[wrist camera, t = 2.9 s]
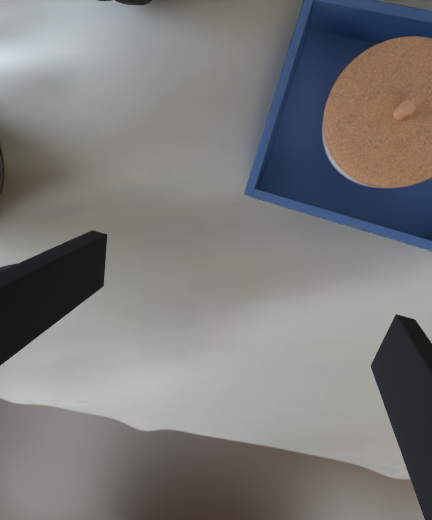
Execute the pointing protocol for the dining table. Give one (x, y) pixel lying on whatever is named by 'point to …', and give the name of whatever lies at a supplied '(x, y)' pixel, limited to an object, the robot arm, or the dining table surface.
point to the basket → (311, 117)
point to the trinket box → (383, 115)
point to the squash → (132, 2)
